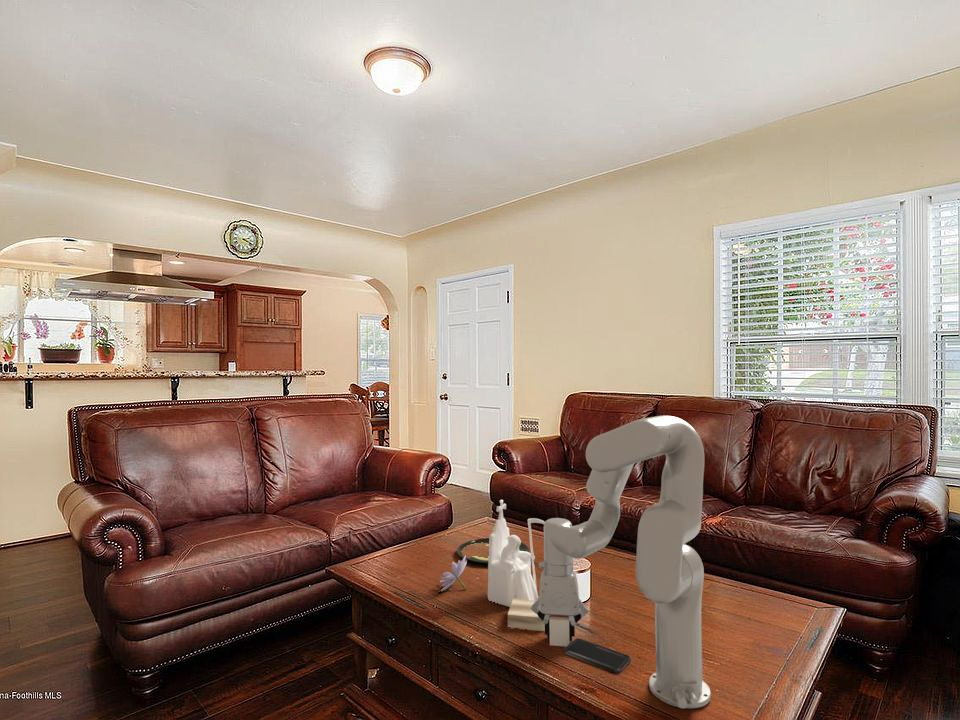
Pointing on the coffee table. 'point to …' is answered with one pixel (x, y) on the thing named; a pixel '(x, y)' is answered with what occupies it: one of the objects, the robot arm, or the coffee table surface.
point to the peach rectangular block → (559, 630)
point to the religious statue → (510, 564)
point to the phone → (597, 655)
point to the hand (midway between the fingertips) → (559, 637)
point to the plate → (486, 540)
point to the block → (524, 616)
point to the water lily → (453, 574)
